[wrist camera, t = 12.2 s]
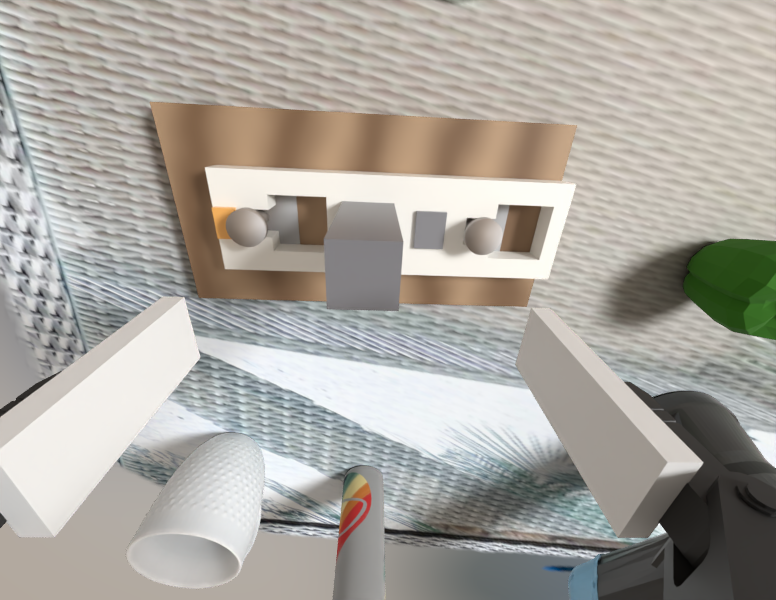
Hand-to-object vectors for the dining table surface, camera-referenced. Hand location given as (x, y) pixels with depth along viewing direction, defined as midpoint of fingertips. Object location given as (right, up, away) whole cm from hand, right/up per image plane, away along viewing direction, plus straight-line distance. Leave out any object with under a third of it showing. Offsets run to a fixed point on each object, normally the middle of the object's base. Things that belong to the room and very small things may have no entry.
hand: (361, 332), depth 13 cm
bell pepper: (+34, +5, +21) cm, 40 cm away
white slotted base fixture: (+1, +8, +15) cm, 17 cm away
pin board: (-1, +9, +17) cm, 19 cm away
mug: (-19, -20, +32) cm, 42 cm away
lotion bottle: (-3, -24, +35) cm, 42 cm away
